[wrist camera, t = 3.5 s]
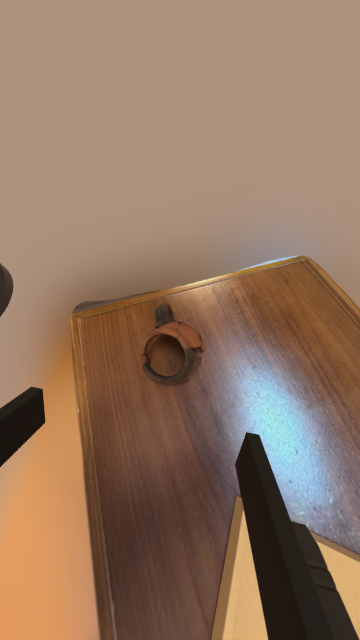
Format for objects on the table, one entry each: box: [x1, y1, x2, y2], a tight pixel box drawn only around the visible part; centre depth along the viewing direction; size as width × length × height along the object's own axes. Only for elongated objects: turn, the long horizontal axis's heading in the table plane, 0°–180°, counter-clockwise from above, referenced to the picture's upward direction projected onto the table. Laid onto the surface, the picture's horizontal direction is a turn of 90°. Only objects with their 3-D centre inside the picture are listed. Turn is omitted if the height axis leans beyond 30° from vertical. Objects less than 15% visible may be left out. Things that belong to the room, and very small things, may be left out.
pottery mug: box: [140, 304, 205, 384], centre depth 27 cm, size 12×10×8 cm
